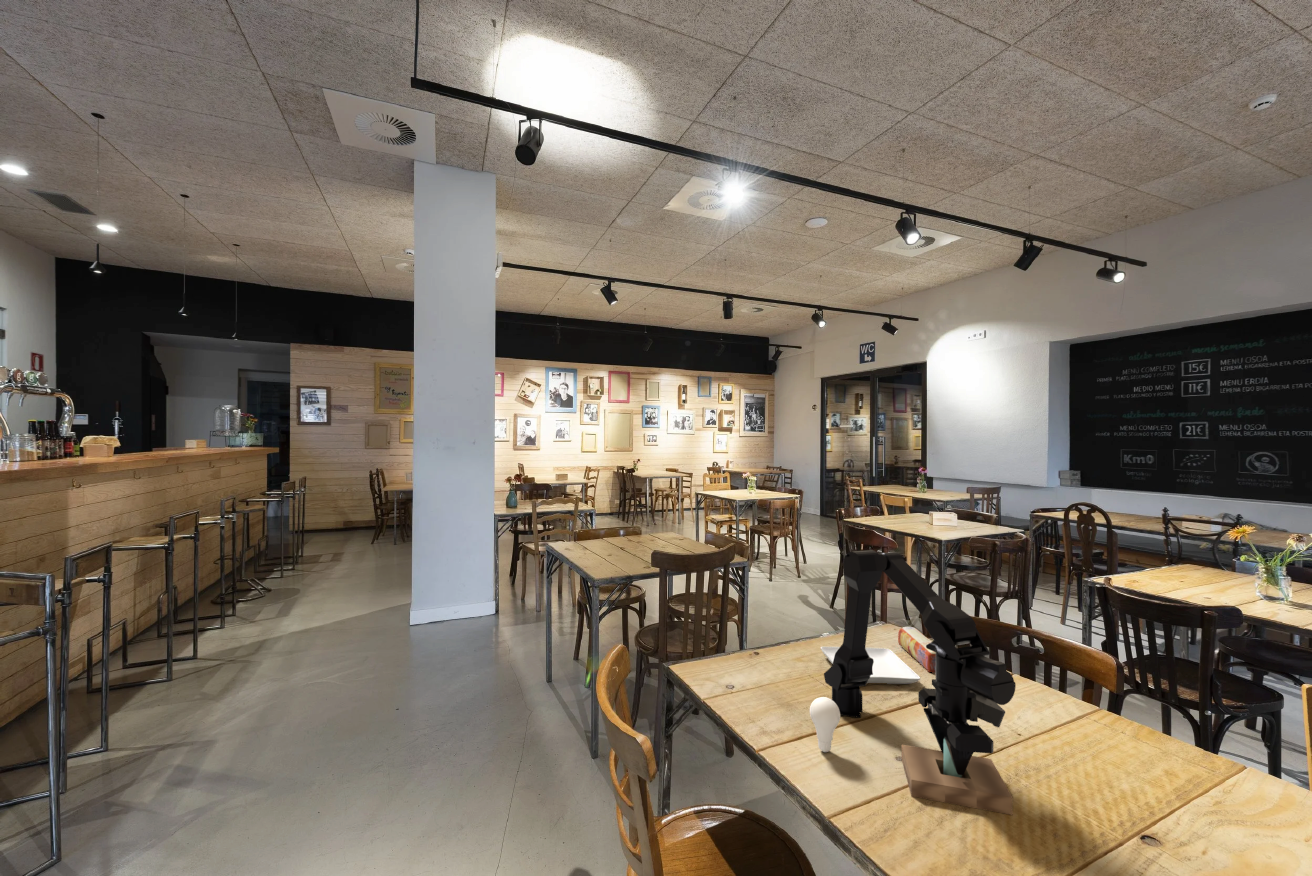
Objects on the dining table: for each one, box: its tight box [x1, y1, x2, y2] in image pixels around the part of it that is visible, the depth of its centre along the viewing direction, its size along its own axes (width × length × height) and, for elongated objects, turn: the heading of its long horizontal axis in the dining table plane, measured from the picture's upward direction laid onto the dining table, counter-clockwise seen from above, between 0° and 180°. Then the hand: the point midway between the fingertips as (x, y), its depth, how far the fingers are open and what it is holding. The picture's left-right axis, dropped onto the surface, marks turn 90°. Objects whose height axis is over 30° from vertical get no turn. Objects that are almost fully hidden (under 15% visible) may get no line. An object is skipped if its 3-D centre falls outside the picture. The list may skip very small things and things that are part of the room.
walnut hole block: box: [901, 744, 1013, 816], centre depth 100 cm, size 16×12×3 cm
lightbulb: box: [809, 696, 841, 753], centre depth 111 cm, size 6×6×11 cm
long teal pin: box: [944, 739, 962, 778], centre depth 100 cm, size 3×3×8 cm
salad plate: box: [820, 646, 921, 685], centre depth 151 cm, size 21×21×3 cm
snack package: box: [897, 626, 936, 674], centre depth 160 cm, size 21×7×7 cm, turn 177°
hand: (952, 763), depth 100 cm, fingers open, 6 cm apart
